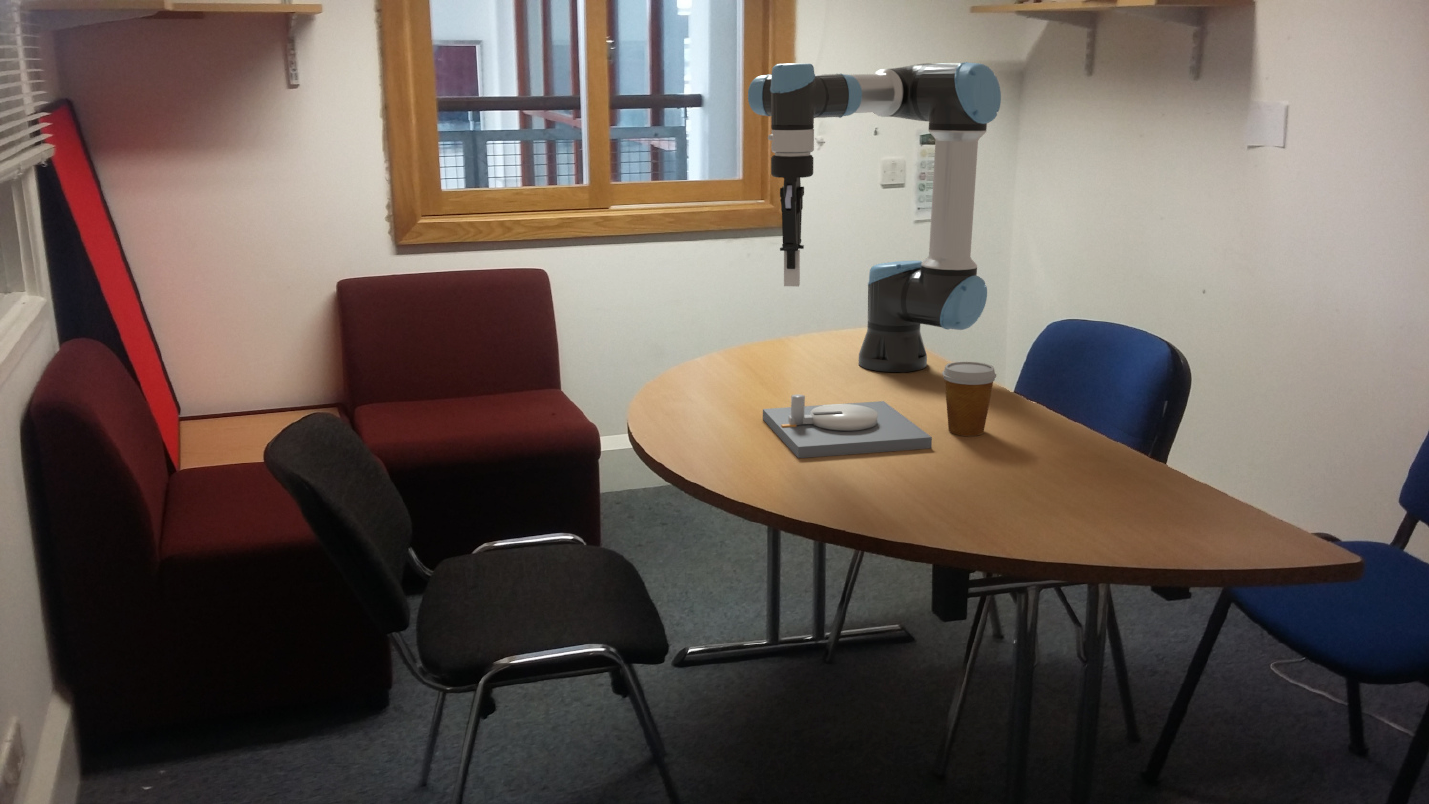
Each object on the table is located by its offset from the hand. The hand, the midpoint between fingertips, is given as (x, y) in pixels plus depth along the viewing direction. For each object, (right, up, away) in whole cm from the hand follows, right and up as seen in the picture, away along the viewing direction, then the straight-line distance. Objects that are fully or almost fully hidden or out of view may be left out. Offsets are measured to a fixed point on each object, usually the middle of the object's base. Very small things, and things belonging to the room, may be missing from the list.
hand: (791, 285), depth 212 cm
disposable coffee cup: (+32, -27, -1) cm, 41 cm away
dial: (+7, -25, -3) cm, 26 cm away
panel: (+9, -27, -2) cm, 29 cm away
